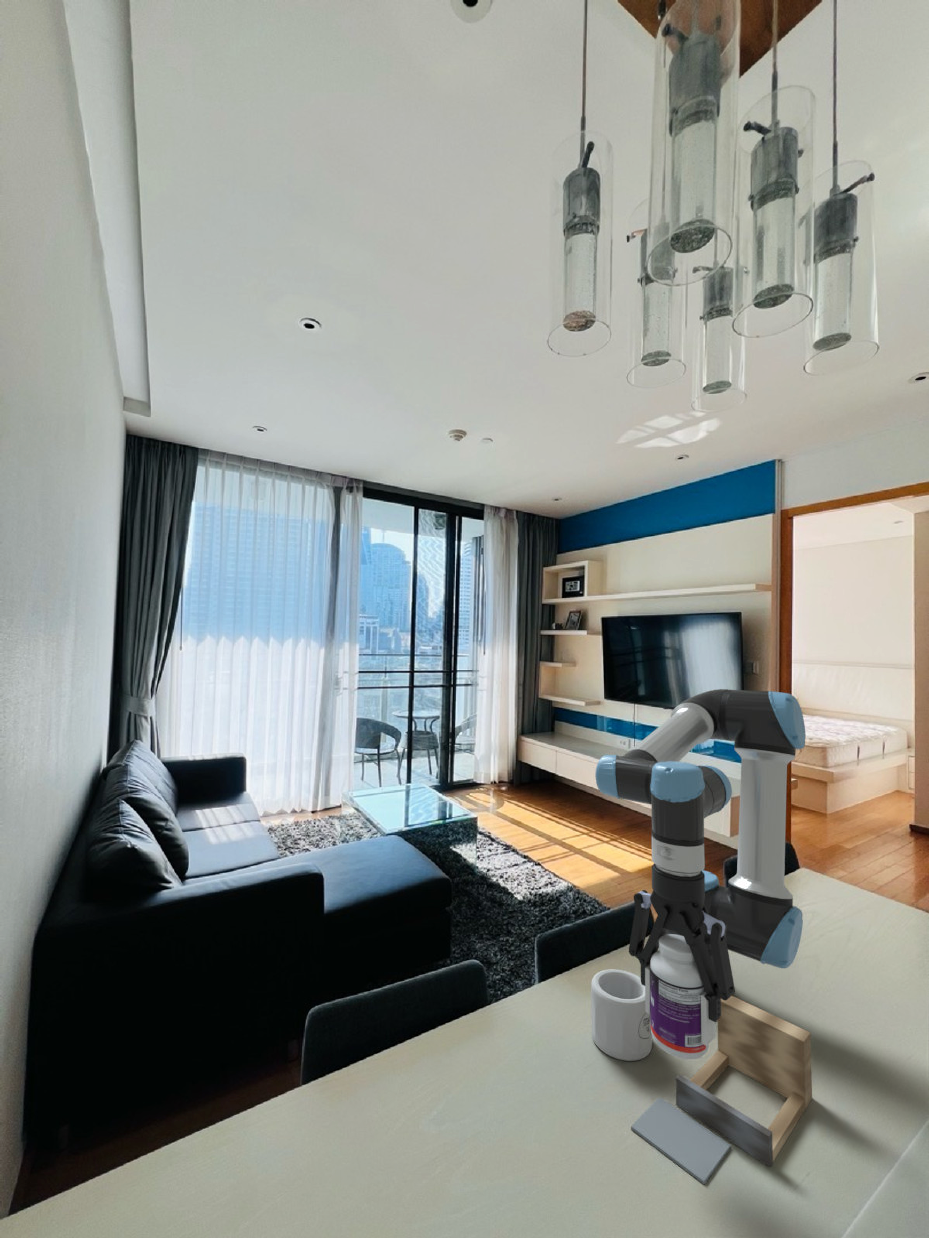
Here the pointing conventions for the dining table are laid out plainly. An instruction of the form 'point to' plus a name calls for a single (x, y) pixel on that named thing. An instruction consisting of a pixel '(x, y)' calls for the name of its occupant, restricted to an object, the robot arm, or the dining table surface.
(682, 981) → the pill bottle
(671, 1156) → the mat
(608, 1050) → the mug
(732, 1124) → the wooden bottle holder
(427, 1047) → the dining table surface
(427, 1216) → the dining table surface
